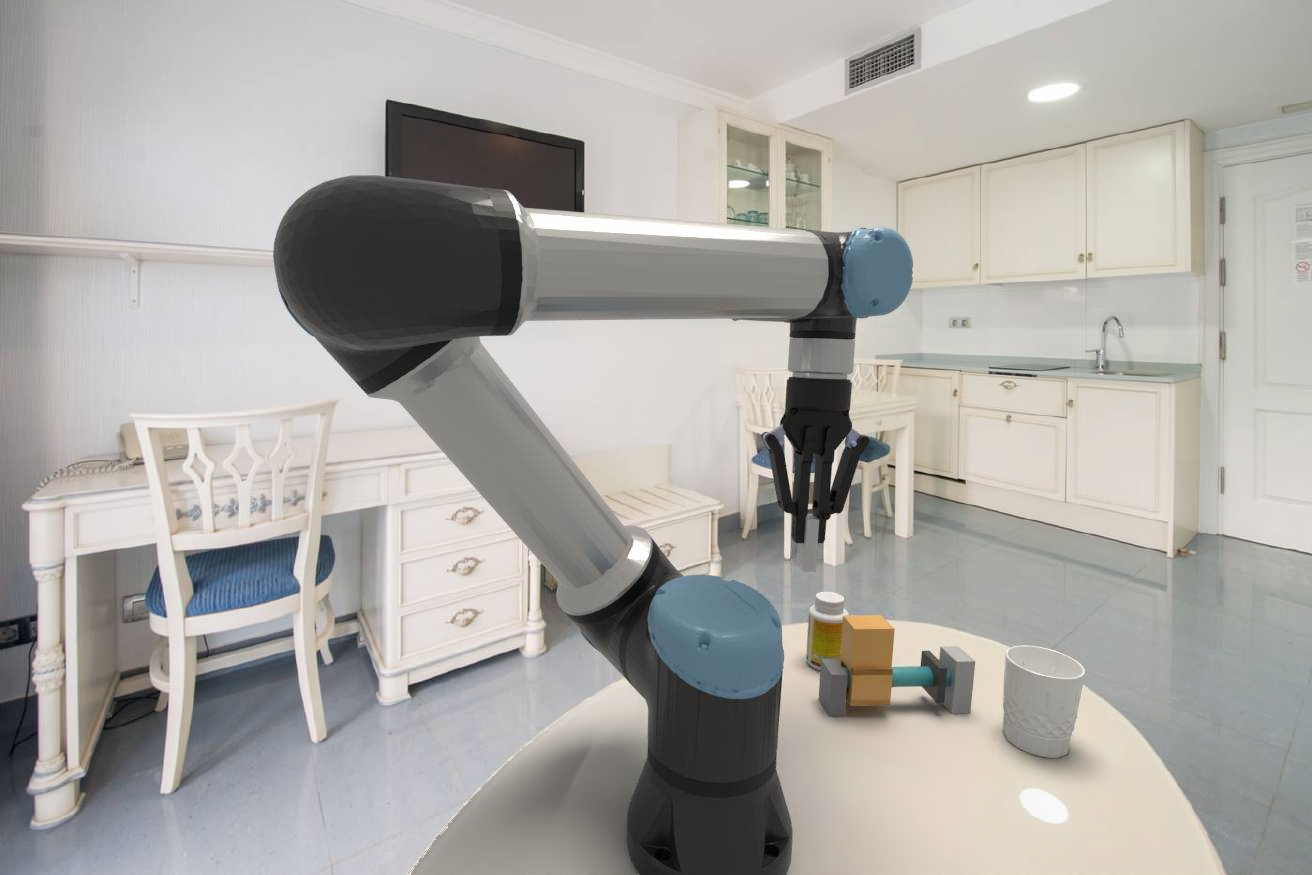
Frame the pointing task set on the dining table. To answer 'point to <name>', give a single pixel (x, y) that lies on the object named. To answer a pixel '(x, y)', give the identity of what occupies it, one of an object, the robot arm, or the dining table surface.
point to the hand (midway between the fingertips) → (805, 567)
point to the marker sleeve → (867, 659)
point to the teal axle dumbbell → (910, 680)
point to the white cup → (1041, 699)
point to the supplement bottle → (825, 628)
